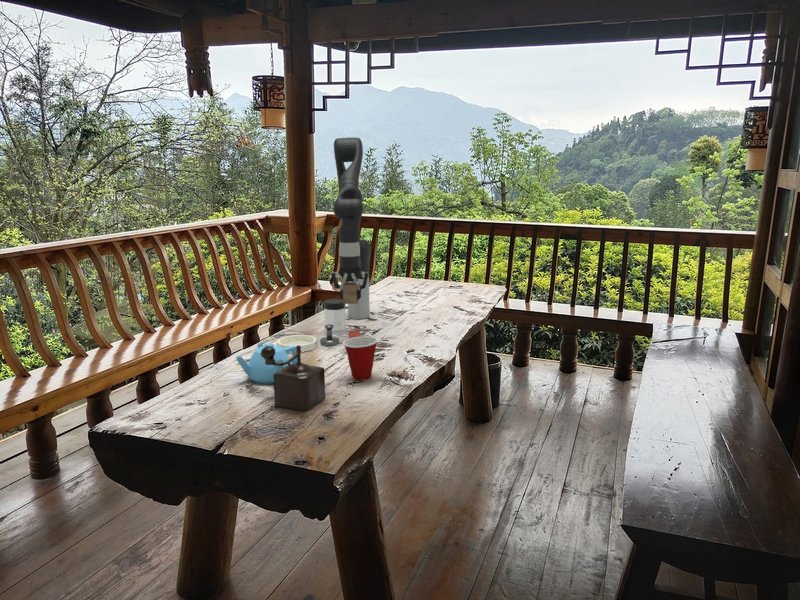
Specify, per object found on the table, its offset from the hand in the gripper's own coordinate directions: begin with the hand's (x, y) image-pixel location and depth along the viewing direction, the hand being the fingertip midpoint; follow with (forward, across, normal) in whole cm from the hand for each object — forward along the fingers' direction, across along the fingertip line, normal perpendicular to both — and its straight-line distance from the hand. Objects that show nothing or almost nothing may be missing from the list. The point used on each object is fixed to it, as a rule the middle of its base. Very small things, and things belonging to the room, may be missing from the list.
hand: (350, 299), depth 222 cm
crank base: (+15, +7, +6) cm, 18 cm away
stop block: (+1, 0, 0) cm, 1 cm away
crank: (+14, +1, +5) cm, 15 cm away
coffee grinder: (+15, +8, +64) cm, 66 cm away
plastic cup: (+15, -8, +42) cm, 45 cm away
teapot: (+15, +20, +43) cm, 49 cm away
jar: (+15, +8, -10) cm, 20 cm away
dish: (+15, +18, +12) cm, 26 cm away
